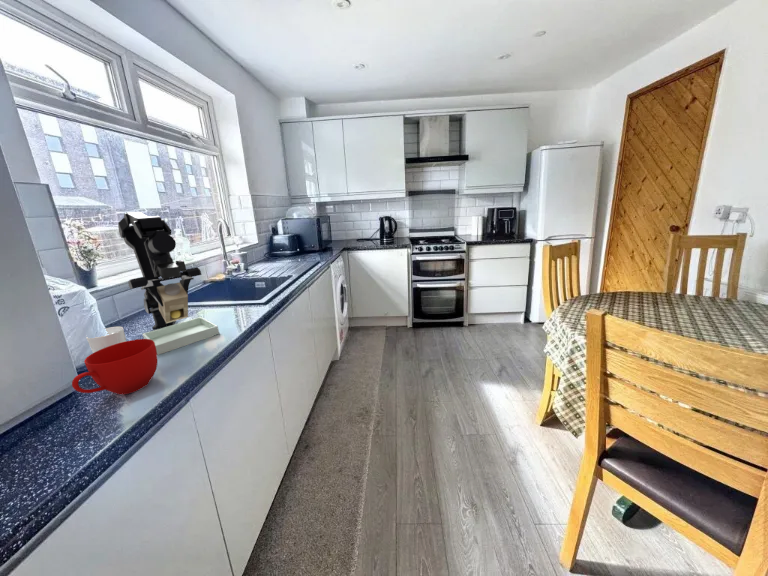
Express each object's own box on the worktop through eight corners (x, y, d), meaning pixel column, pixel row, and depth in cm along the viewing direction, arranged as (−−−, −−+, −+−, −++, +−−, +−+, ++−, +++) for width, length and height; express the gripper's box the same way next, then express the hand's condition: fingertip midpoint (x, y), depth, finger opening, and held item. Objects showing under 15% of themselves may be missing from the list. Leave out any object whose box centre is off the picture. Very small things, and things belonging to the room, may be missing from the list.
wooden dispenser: (159, 310, 101) (156, 283, 93) (180, 304, 105) (179, 278, 98) (166, 323, 99) (164, 297, 91) (188, 317, 103) (187, 291, 96)
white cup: (112, 371, 83) (100, 338, 80) (90, 369, 84) (78, 337, 82) (139, 357, 90) (129, 326, 87) (119, 356, 92) (108, 326, 89)
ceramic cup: (63, 412, 66) (46, 372, 63) (138, 370, 82) (127, 337, 79) (107, 417, 63) (92, 376, 60) (176, 374, 79) (167, 339, 76)
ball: (170, 307, 99) (173, 312, 98) (180, 308, 102) (183, 312, 100) (167, 315, 100) (170, 319, 98) (177, 315, 102) (180, 320, 101)
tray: (144, 341, 101) (142, 333, 100) (202, 324, 114) (200, 316, 113) (157, 355, 91) (154, 346, 90) (219, 333, 103) (217, 325, 103)
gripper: (126, 259, 83) (144, 312, 85) (199, 248, 96) (213, 295, 99) (120, 262, 90) (137, 311, 93) (189, 252, 104) (202, 295, 106)
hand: (174, 303), depth 98 cm, fingers closed on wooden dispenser, 6 cm apart
